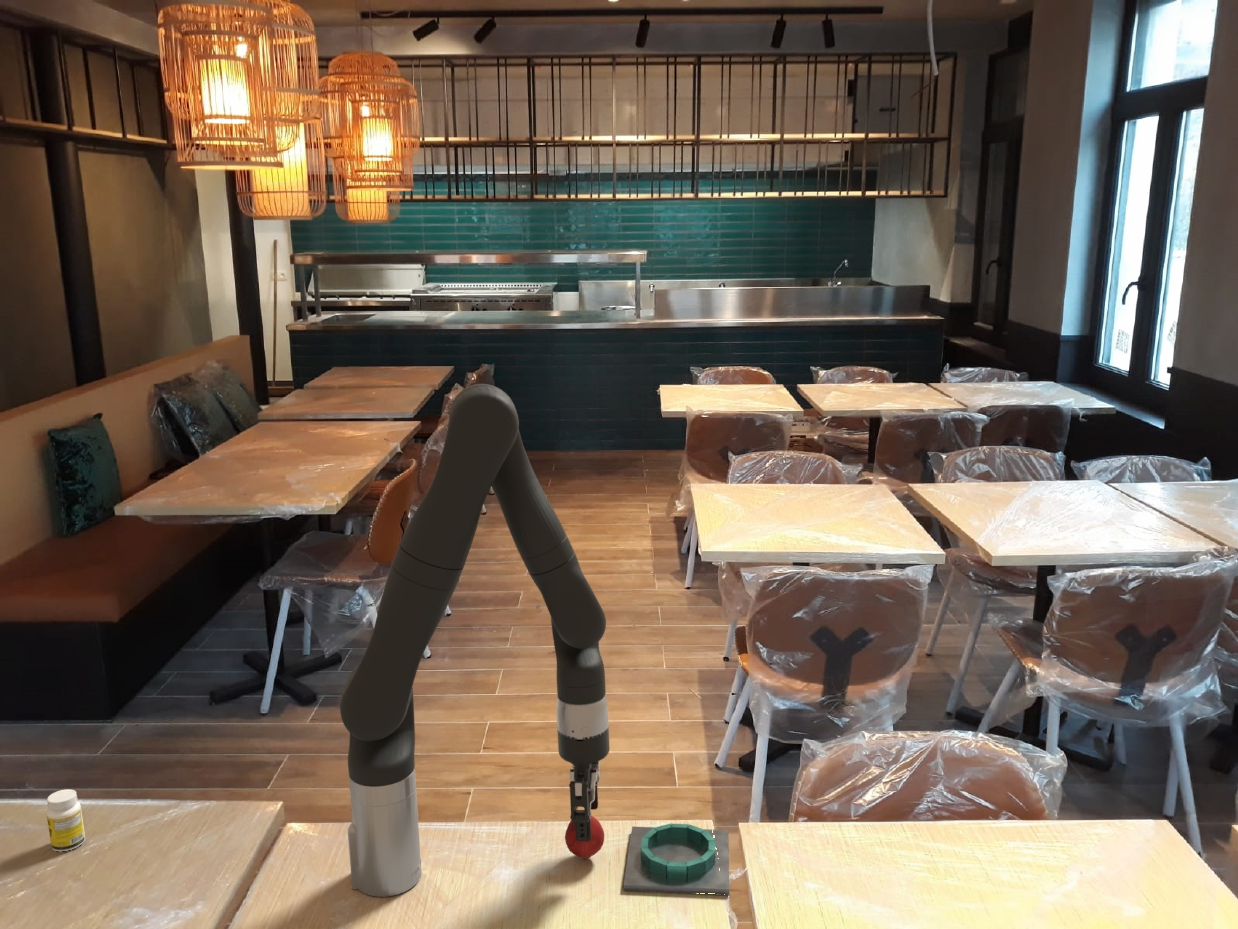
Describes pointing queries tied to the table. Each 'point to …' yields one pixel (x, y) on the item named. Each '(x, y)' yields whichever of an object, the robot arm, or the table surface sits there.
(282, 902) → the table surface
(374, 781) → the robot arm
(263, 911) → the table surface
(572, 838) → the onion
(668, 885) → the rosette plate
